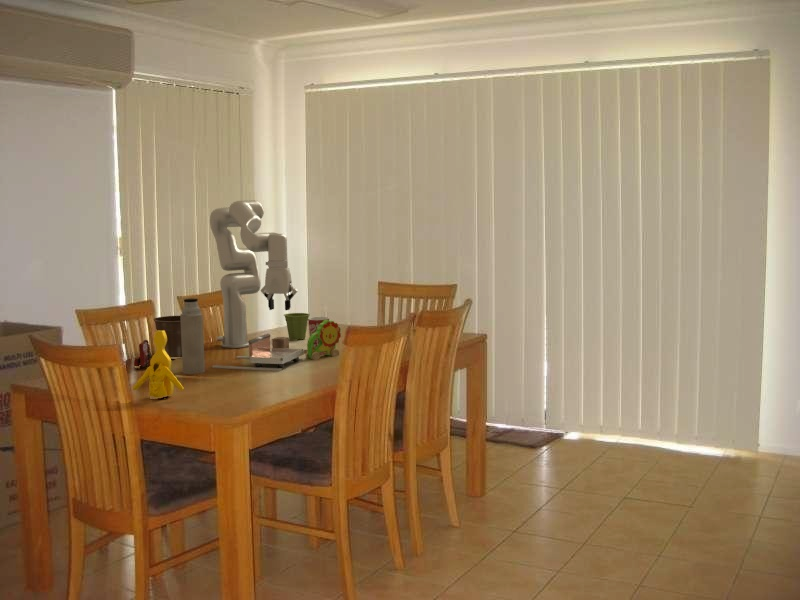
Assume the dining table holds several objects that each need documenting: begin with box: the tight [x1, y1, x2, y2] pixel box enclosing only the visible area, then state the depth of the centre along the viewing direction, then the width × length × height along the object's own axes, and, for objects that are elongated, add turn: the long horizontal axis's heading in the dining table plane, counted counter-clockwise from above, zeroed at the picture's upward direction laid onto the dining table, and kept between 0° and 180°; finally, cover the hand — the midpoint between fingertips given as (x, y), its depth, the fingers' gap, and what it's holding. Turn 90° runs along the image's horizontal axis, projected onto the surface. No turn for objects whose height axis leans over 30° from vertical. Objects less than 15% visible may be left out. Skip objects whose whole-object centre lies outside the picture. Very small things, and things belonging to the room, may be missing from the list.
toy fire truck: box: [133, 339, 153, 367], centre depth 359 cm, size 7×12×10 cm, turn 1°
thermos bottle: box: [179, 298, 206, 375], centre depth 343 cm, size 8×8×28 cm
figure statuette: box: [131, 330, 185, 397], centre depth 304 cm, size 18×8×22 cm, turn 82°
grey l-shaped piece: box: [247, 333, 304, 369], centre depth 355 cm, size 14×20×11 cm
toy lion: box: [305, 320, 342, 361], centre depth 371 cm, size 16×5×15 cm, turn 135°
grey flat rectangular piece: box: [211, 355, 304, 372], centre depth 357 cm, size 28×21×2 cm
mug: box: [308, 316, 330, 349], centre depth 393 cm, size 13×9×14 cm
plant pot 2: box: [283, 312, 311, 341], centre depth 421 cm, size 12×12×11 cm
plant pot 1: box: [153, 315, 182, 357], centre depth 379 cm, size 16×16×16 cm
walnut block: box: [271, 336, 290, 349], centre depth 375 cm, size 5×5×8 cm
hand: (279, 309), depth 373 cm, fingers open, 6 cm apart
